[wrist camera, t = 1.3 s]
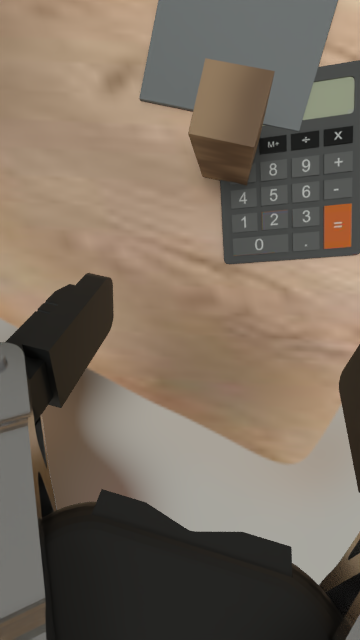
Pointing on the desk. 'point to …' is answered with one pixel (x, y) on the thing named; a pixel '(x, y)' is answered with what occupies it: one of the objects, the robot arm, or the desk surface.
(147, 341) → the desk surface
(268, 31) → the mat
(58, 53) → the desk surface
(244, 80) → the block
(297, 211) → the calculator
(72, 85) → the desk surface
